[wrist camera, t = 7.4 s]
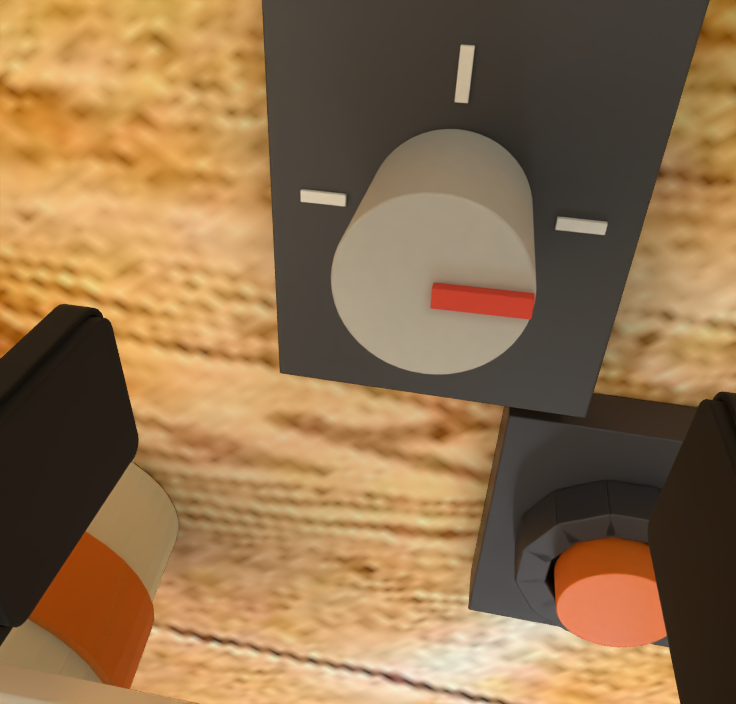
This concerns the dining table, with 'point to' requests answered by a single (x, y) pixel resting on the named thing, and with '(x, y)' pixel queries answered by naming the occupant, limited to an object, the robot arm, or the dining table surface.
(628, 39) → the fryer panel
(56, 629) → the reusable coffee cup
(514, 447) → the block
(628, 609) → the button
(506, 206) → the timer knob
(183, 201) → the dining table surface
